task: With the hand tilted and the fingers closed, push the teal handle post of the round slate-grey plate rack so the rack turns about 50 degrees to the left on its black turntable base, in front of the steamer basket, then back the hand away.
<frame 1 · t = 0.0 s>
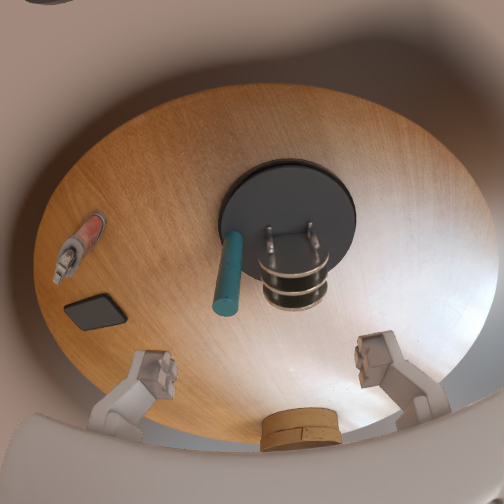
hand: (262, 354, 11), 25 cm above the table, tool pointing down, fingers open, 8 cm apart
rack base: (288, 225, 36), on the table
dish rack: (294, 259, 30), point 8 cm above the table, hinge at 0.0°
steamer basket: (299, 420, 75), on the table
lighter: (92, 230, 37), on the table
smartphone: (94, 312, 47), on the table
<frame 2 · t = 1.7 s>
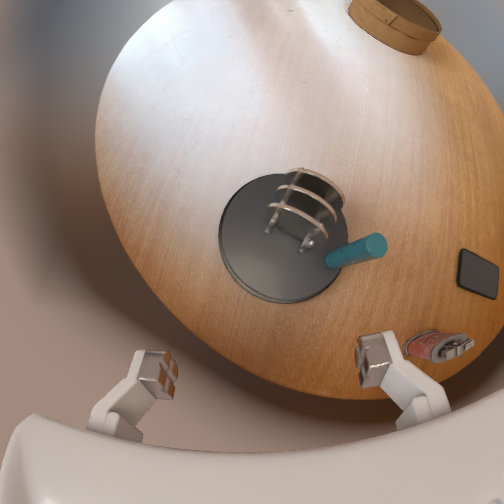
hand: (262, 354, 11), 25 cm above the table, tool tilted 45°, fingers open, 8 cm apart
rack base: (285, 236, 38), on the table
dish rack: (298, 223, 31), point 8 cm above the table, hinge at 0.0°
steamer basket: (387, 27, 50), on the table
lighter: (421, 342, 38), on the table
smartphone: (478, 276, 40), on the table
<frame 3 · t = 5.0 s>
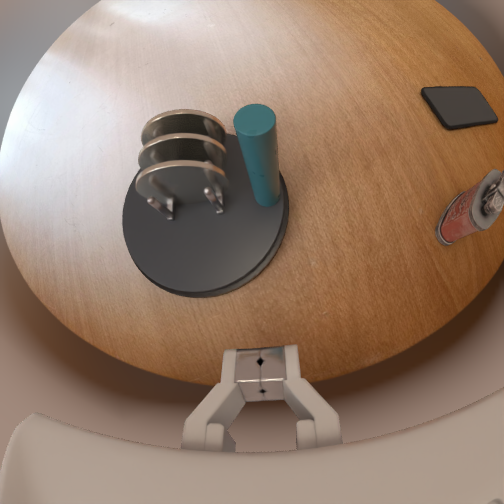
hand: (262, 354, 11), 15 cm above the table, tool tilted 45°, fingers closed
rack base: (201, 210, 29), on the table
dish rack: (175, 181, 21), point 8 cm above the table, hinge at 0.0°
lighter: (454, 218, 26), on the table
smartphone: (461, 107, 28), on the table
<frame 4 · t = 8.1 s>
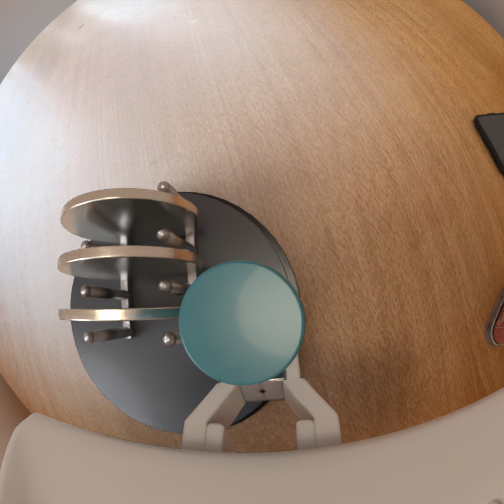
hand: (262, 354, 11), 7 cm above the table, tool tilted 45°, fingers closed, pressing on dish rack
rack base: (173, 315, 19), on the table
dish rack: (116, 319, 12), point 8 cm above the table, hinge at 0.5°, touching gripper
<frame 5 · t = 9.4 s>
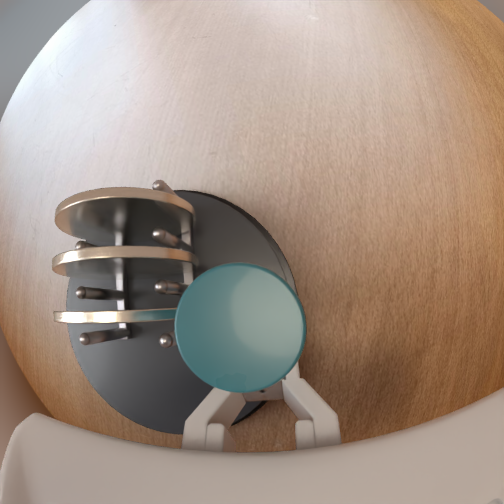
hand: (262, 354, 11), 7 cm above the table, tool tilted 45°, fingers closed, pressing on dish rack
rack base: (170, 315, 19), on the table
dish rack: (112, 321, 12), point 8 cm above the table, hinge at 26.3°, touching gripper
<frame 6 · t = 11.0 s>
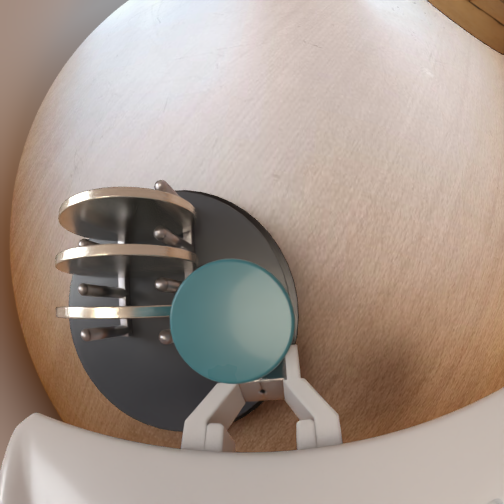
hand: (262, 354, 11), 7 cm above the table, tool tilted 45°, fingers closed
rack base: (171, 313, 19), on the table
dish rack: (113, 317, 12), point 8 cm above the table, hinge at 50.1°
steamer basket: (471, 17, 23), on the table
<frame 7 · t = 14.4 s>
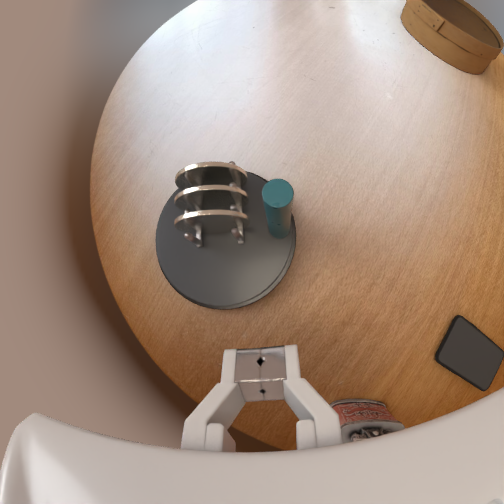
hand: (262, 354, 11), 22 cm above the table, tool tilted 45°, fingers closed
rack base: (223, 237, 35), on the table
dish rack: (208, 222, 28), point 8 cm above the table, hinge at 50.1°
steamer basket: (444, 40, 38), on the table
lighter: (356, 409, 30), on the table
smartphone: (471, 355, 29), on the table
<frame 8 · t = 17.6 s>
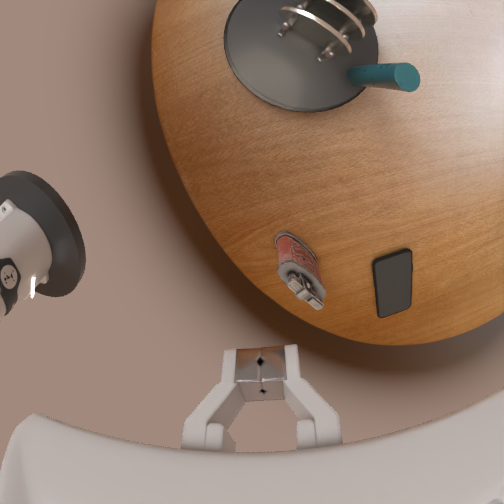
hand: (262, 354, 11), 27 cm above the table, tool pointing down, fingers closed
rack base: (303, 41, 24), on the table
dish rack: (316, 30, 18), point 8 cm above the table, hinge at 50.1°
lighter: (296, 249, 41), on the table
smartphone: (392, 284, 44), on the table
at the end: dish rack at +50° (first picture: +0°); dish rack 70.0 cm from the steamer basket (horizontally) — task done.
